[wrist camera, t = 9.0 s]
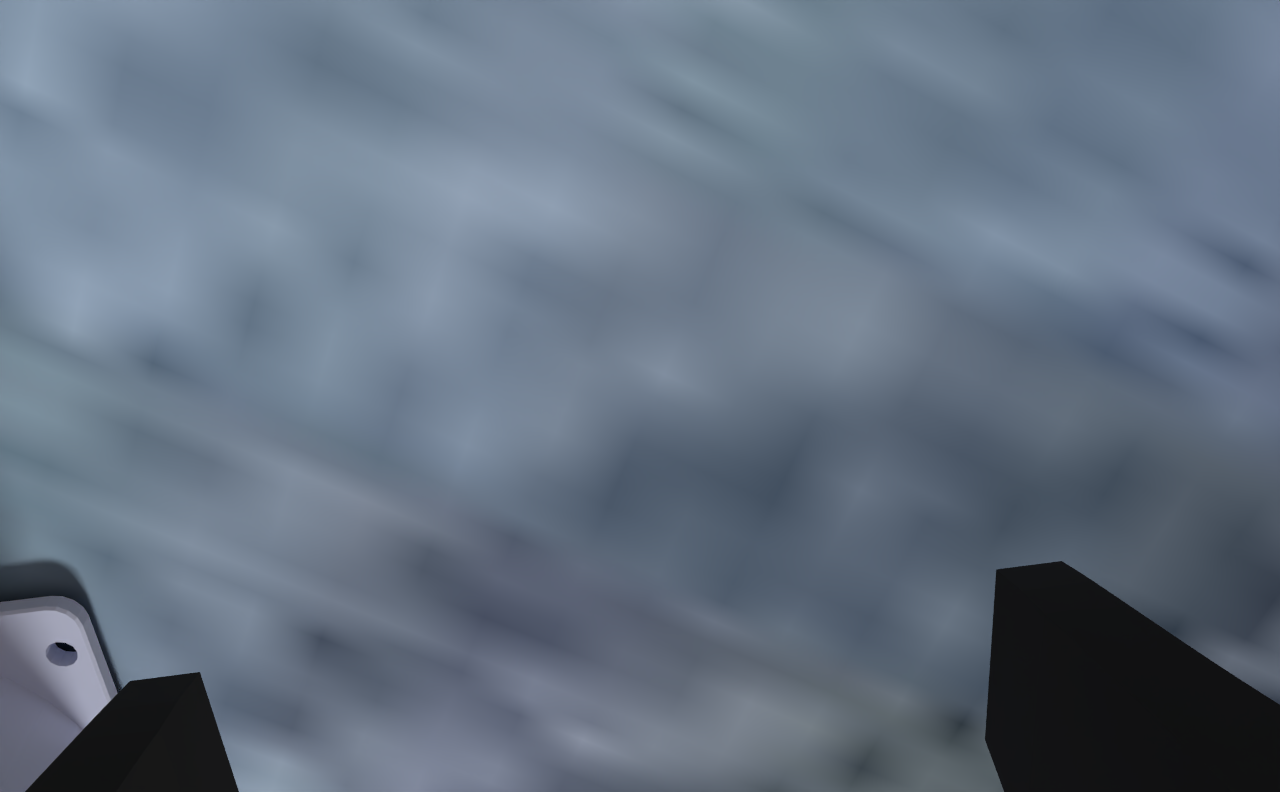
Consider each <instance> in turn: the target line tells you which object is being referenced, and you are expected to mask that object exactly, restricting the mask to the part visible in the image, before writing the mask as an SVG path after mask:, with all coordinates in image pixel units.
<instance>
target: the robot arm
mask: <svg viewBox="0 0 1280 792" xmlns="http://www.w3.org/2000/svg"><path fill="white" fill-rule="evenodd" d="M56 642H63V643H67V644H69V645H71V646H73V647H74V649H75V650H76V651H75V652H69V651H64V650H62V649H60V648H58V646H57V645H56V644H55V643H56ZM985 741H986V743H987V746H988V749H989V752H990V754H991V757H992V760H993V762H994V765H995V768H996V771H997V773H998V776H999V779H1000V781H1001V784H1002V787H1003V790H1004V792H1280V705H1279V704H1278V703H1276V702H1274V701H1273V700H1271V699H1270V698H1268V697H1267V696H1265V695H1263V694H1262V693H1260V692H1259V691H1257V690H1256V689H1254V688H1252V687H1251V686H1249V685H1248V684H1246V683H1245V682H1243V681H1242V680H1240V679H1238V678H1237V677H1235V676H1234V675H1232V674H1231V673H1229V672H1228V671H1226V670H1225V669H1223V668H1221V667H1220V666H1218V665H1217V664H1215V663H1214V662H1212V661H1211V660H1209V659H1208V658H1206V657H1205V656H1203V655H1202V654H1200V653H1199V652H1197V651H1196V650H1194V649H1193V648H1191V647H1190V646H1188V645H1187V644H1185V643H1184V642H1182V641H1181V640H1179V639H1178V638H1176V637H1175V636H1173V635H1172V634H1170V633H1169V632H1168V631H1166V630H1165V629H1163V628H1162V627H1160V626H1159V625H1157V624H1156V623H1154V622H1153V621H1151V620H1150V619H1148V618H1147V617H1145V616H1144V615H1142V614H1141V613H1139V612H1138V611H1136V610H1135V609H1134V608H1132V607H1131V606H1129V605H1128V604H1126V603H1125V602H1123V601H1122V600H1120V599H1119V598H1117V597H1116V596H1114V595H1113V594H1111V593H1110V592H1108V591H1107V590H1106V589H1104V588H1103V587H1101V586H1100V585H1098V584H1097V583H1095V582H1094V581H1092V580H1091V579H1089V578H1087V577H1086V576H1084V575H1083V574H1081V573H1080V572H1078V571H1077V570H1075V569H1073V568H1072V567H1070V566H1069V565H1067V564H1065V563H1064V562H1062V561H1059V562H1052V563H1044V564H1036V565H1028V566H1021V567H1013V568H1005V569H997V570H996V584H995V599H994V614H993V629H992V644H991V659H990V674H989V689H988V704H987V719H986V734H985ZM0 792H239V791H238V788H237V785H236V782H235V779H234V776H233V773H232V770H231V766H230V763H229V760H228V757H227V754H226V751H225V748H224V745H223V742H222V739H221V736H220V733H219V730H218V727H217V724H216V720H215V717H214V714H213V711H212V708H211V705H210V702H209V699H208V696H207V693H206V690H205V687H204V684H203V681H202V678H201V674H200V672H197V673H189V674H182V675H174V676H166V677H158V678H151V679H143V680H135V681H130V682H129V683H128V684H127V685H126V686H125V687H124V688H123V689H122V690H121V691H120V692H119V693H117V690H116V687H115V685H114V682H113V679H112V677H111V674H110V671H109V669H108V666H107V663H106V660H105V658H104V655H103V652H102V650H101V647H100V644H99V642H98V639H97V636H96V634H95V631H94V628H93V625H92V623H91V620H90V617H89V615H88V613H87V612H86V610H85V609H84V607H83V606H81V605H80V604H79V603H77V602H76V601H75V600H72V599H69V598H67V597H64V596H45V597H37V598H29V599H21V600H13V601H5V602H0Z"/></svg>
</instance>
